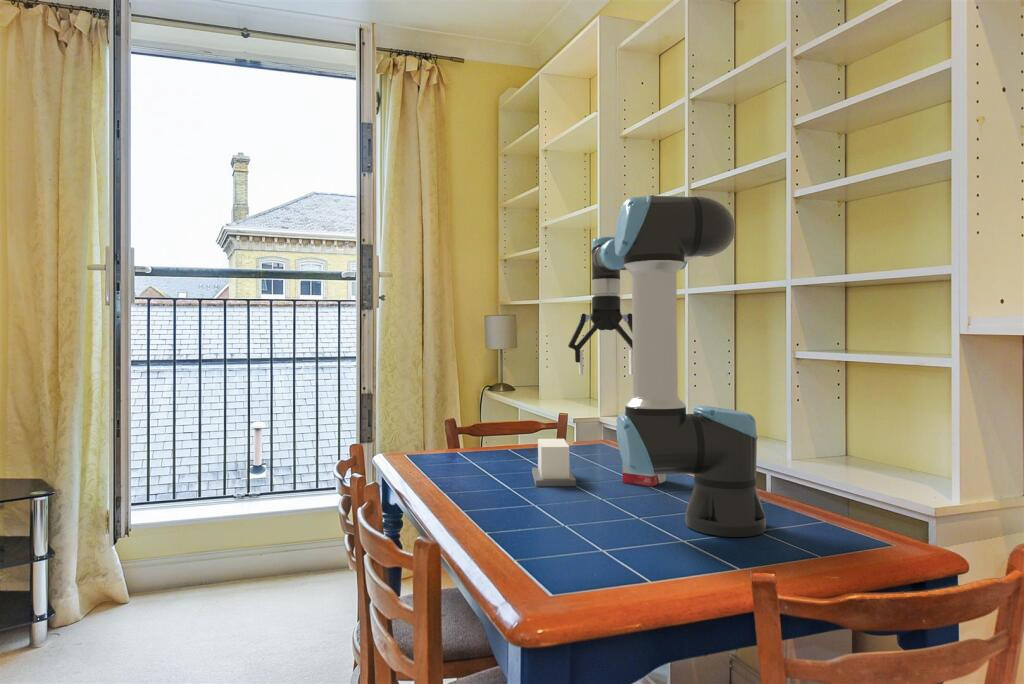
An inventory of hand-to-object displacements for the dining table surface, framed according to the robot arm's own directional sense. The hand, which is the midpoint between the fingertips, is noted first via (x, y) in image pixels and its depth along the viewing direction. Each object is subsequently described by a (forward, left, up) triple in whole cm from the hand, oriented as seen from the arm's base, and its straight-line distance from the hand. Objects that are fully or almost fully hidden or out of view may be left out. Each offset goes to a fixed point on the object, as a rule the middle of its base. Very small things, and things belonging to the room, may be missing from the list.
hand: (606, 374), depth 183 cm
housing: (-6, +15, -25) cm, 30 cm away
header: (-6, +15, -27) cm, 31 cm away
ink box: (-10, -8, -27) cm, 30 cm away
